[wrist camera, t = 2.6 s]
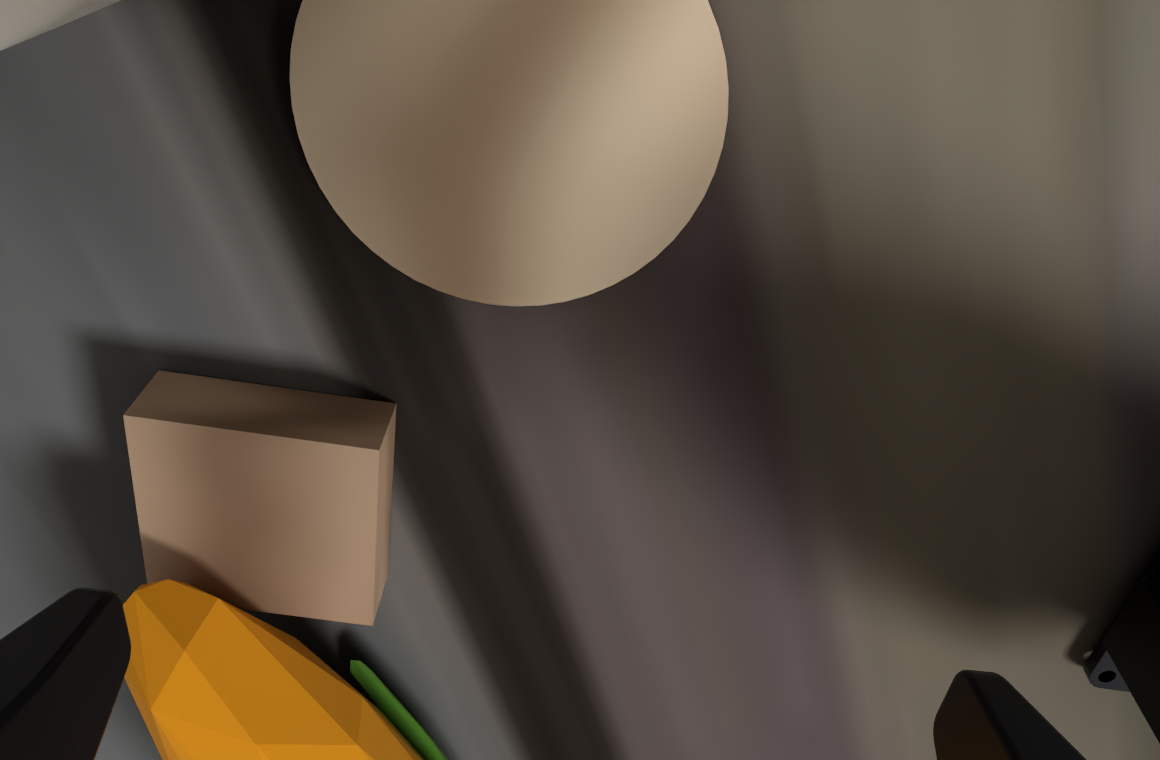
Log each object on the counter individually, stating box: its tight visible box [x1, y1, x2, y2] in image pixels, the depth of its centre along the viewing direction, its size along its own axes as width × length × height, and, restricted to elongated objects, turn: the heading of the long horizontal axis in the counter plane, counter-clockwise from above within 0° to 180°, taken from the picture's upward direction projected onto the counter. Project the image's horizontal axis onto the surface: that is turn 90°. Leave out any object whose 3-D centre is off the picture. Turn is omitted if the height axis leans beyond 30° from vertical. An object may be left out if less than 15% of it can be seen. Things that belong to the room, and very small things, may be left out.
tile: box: [123, 370, 396, 626], centre depth 24 cm, size 6×6×2 cm
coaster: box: [290, 0, 729, 306], centre depth 19 cm, size 9×9×1 cm
